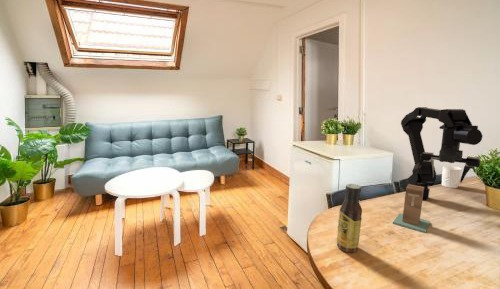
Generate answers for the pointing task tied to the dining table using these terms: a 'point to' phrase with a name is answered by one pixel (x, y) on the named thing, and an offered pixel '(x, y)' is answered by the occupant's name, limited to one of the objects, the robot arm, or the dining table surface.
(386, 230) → the dining table surface
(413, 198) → the letter block
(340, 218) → the sauce bottle
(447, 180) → the white cup
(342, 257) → the dining table surface
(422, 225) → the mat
